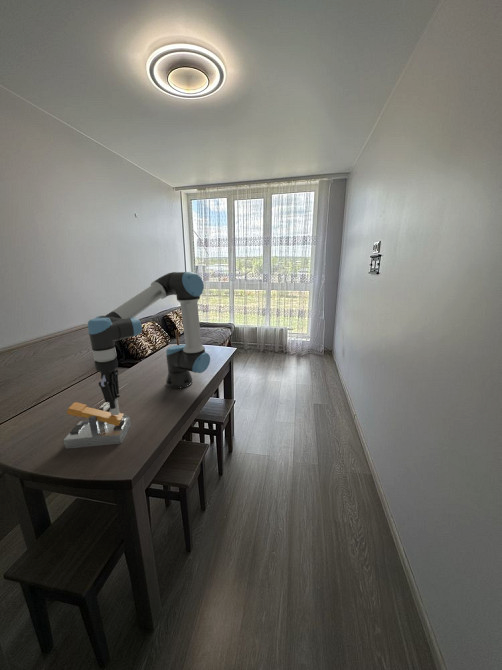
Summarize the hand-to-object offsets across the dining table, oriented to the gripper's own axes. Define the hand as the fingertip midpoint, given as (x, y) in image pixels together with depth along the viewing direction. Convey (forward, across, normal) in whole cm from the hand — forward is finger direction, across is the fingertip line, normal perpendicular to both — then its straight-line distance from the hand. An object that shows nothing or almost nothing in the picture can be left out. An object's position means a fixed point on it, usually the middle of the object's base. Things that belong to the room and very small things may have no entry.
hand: (115, 414), depth 102 cm
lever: (0, 0, -7) cm, 7 cm away
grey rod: (+10, -11, -7) cm, 17 cm away
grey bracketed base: (+10, 0, -7) cm, 12 cm away
